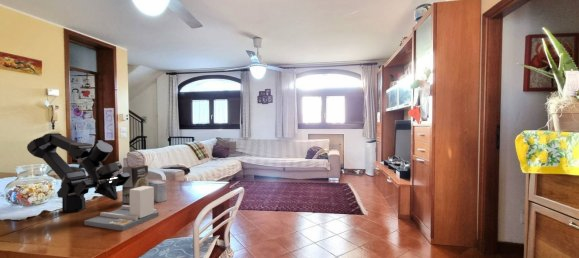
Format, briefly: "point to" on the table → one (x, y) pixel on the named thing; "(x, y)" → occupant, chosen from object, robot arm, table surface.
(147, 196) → the toggle
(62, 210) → the robot arm
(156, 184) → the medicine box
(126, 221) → the switch board
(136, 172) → the coffee box
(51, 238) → the table surface
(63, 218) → the table surface
